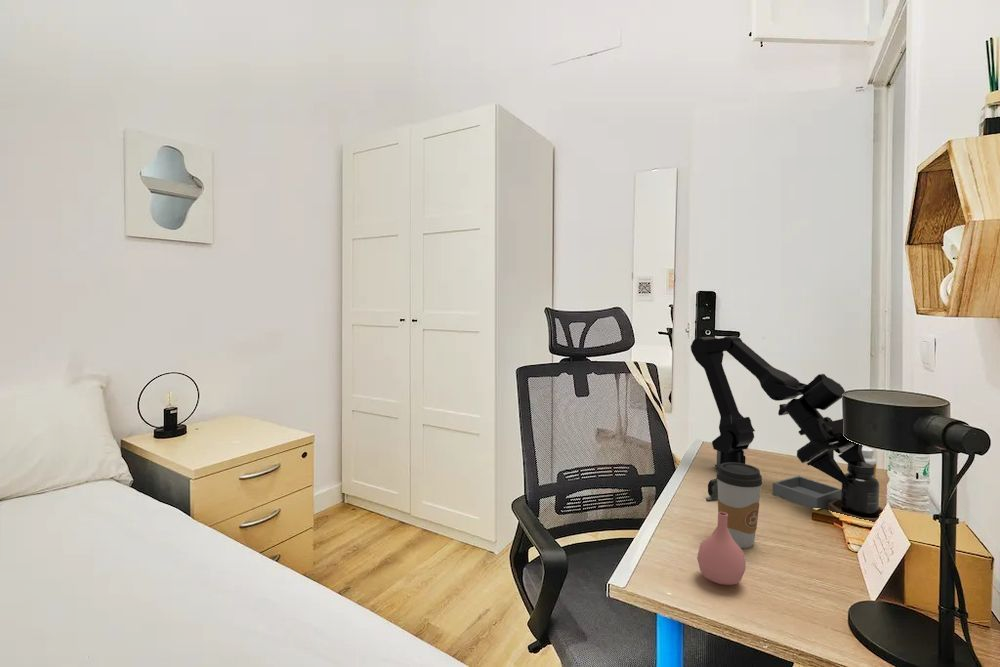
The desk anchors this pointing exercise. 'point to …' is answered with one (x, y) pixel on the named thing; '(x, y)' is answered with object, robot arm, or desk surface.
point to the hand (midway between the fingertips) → (858, 479)
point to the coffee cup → (739, 500)
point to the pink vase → (721, 555)
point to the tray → (806, 492)
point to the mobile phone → (713, 489)
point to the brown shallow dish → (837, 503)
